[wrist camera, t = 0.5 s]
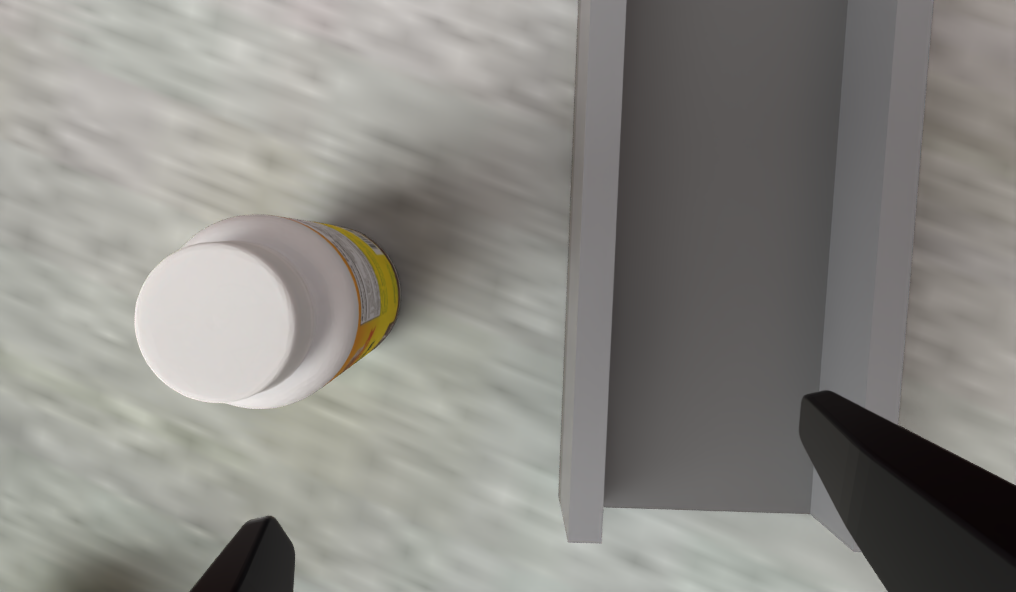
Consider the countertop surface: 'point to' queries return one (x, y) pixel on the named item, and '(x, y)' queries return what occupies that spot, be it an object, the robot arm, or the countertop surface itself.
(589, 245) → the cable duct
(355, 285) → the supplement bottle
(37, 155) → the countertop surface
